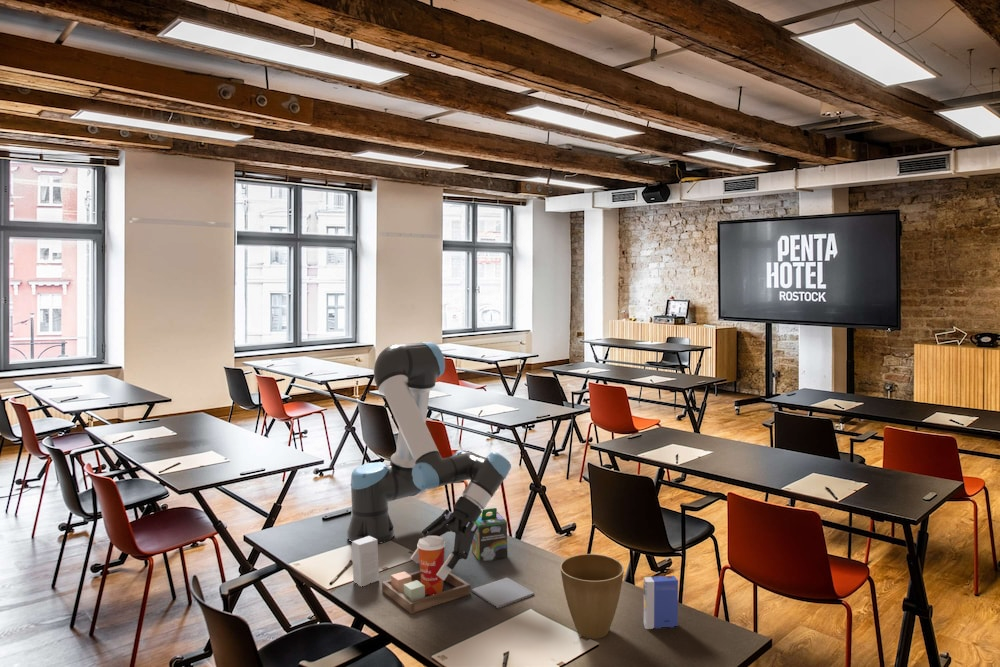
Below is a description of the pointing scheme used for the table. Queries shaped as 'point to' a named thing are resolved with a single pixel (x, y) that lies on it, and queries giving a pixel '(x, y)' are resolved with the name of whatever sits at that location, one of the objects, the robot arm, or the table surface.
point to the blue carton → (660, 601)
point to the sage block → (414, 590)
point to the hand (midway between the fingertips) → (426, 569)
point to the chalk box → (490, 536)
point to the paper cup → (431, 562)
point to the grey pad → (502, 592)
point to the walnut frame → (429, 601)
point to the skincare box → (365, 561)
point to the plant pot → (592, 592)
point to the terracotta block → (400, 581)
